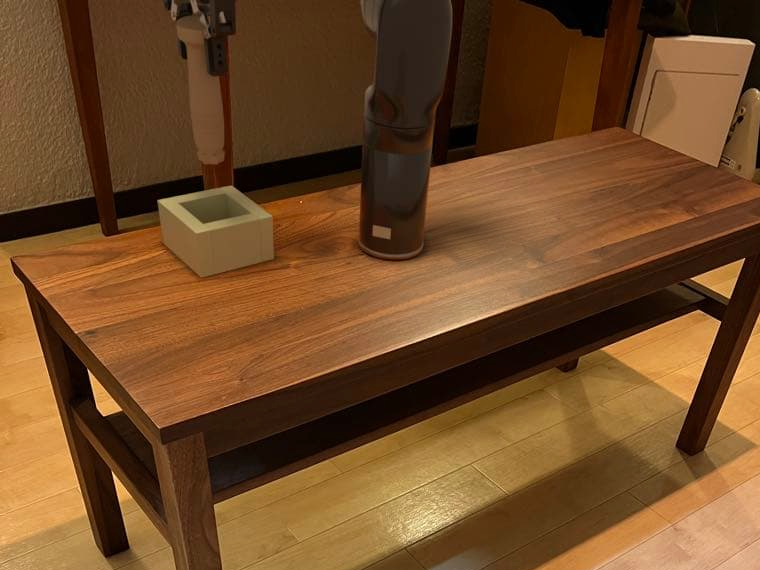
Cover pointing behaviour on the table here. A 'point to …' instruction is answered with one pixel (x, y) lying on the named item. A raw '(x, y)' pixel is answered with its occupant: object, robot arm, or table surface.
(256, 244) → the frame
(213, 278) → the table surface
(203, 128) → the handle
